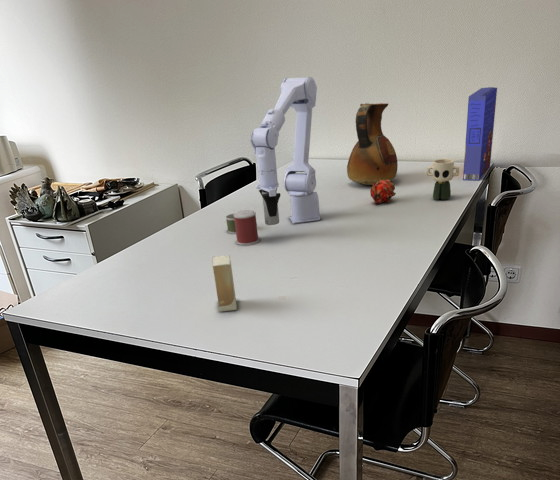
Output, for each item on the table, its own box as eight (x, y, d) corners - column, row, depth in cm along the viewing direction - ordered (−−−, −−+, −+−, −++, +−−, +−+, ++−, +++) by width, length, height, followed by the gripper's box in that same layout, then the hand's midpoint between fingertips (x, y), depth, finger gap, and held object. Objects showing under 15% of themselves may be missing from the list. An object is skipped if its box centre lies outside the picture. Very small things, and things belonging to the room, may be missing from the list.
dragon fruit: (391, 201, 219) (378, 215, 212) (373, 187, 219) (360, 201, 212) (403, 184, 212) (391, 198, 205) (384, 169, 213) (371, 183, 205)
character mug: (424, 201, 210) (425, 163, 204) (428, 195, 216) (429, 158, 209) (455, 201, 206) (457, 163, 199) (459, 196, 212) (461, 158, 205)
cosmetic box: (219, 302, 151) (212, 256, 144) (236, 300, 151) (230, 254, 144) (219, 312, 145) (212, 265, 139) (237, 310, 145) (230, 263, 139)
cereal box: (475, 166, 246) (481, 87, 231) (490, 167, 243) (497, 86, 228) (462, 180, 230) (468, 95, 215) (478, 180, 227) (485, 95, 212)
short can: (245, 226, 204) (244, 211, 201) (248, 231, 198) (246, 217, 196) (226, 229, 203) (224, 214, 201) (228, 234, 198) (226, 219, 195)
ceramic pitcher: (405, 178, 240) (406, 97, 225) (384, 191, 226) (385, 106, 211) (361, 176, 250) (359, 98, 235) (339, 188, 236) (336, 107, 221)
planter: (277, 225, 186) (274, 192, 181) (263, 225, 187) (260, 192, 182) (280, 220, 190) (277, 188, 184) (266, 221, 191) (263, 188, 185)
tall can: (257, 236, 193) (254, 209, 189) (260, 243, 187) (257, 215, 183) (236, 239, 192) (232, 212, 188) (238, 246, 186) (234, 218, 182)
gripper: (251, 166, 186) (256, 209, 193) (257, 176, 173) (262, 222, 180) (273, 163, 186) (277, 206, 193) (281, 173, 174) (285, 218, 181)
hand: (271, 214), depth 187 cm, fingers closed on planter, 4 cm apart
